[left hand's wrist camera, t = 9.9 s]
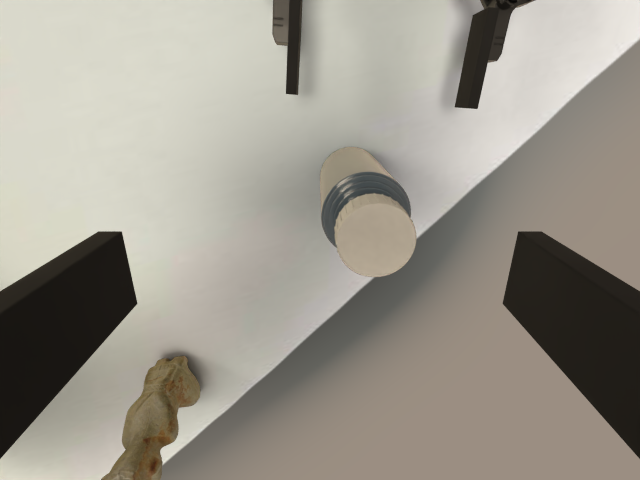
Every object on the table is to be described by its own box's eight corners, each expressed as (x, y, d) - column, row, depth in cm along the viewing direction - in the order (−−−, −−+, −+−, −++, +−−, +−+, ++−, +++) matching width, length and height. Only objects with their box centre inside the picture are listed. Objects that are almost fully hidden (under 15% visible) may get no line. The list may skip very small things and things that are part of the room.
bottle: (327, 140, 36) (336, 175, 20) (387, 154, 36) (444, 200, 20) (313, 199, 38) (311, 274, 22) (370, 212, 38) (409, 295, 22)
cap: (344, 184, 22) (347, 193, 20) (418, 201, 22) (429, 212, 20) (326, 253, 23) (327, 268, 21) (395, 268, 24) (402, 285, 22)
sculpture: (165, 396, 47) (102, 522, 33) (149, 352, 45) (73, 467, 31) (209, 392, 47) (163, 516, 33) (195, 347, 44) (140, 461, 30)
